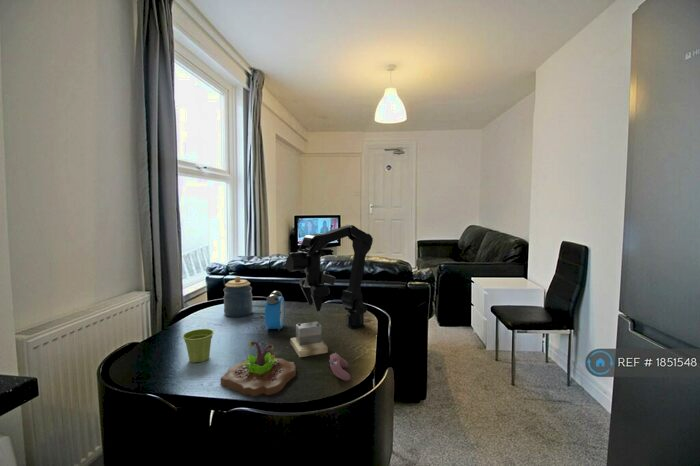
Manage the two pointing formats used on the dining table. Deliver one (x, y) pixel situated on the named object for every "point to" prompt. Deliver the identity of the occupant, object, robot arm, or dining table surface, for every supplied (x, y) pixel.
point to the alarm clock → (274, 311)
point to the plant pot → (198, 344)
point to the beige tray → (308, 348)
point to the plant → (259, 373)
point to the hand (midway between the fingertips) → (314, 307)
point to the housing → (308, 333)
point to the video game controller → (339, 367)
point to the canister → (237, 298)
